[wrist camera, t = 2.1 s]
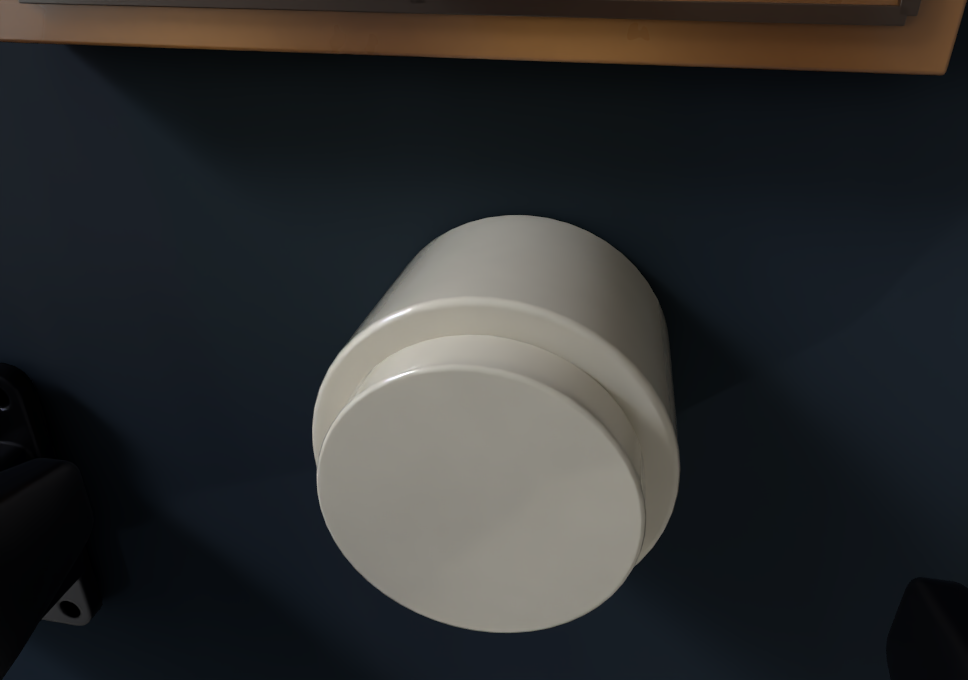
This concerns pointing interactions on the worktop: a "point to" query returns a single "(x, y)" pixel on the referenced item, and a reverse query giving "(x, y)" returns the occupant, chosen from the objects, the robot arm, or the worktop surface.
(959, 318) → the worktop surface
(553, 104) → the worktop surface
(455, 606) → the white lidded jar
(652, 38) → the wooden grid board
